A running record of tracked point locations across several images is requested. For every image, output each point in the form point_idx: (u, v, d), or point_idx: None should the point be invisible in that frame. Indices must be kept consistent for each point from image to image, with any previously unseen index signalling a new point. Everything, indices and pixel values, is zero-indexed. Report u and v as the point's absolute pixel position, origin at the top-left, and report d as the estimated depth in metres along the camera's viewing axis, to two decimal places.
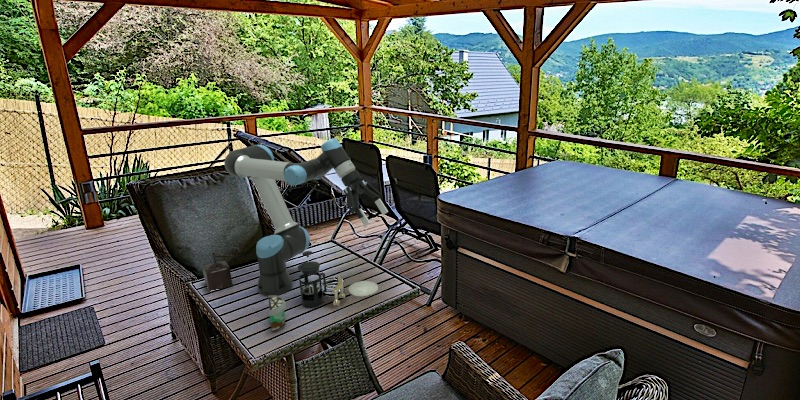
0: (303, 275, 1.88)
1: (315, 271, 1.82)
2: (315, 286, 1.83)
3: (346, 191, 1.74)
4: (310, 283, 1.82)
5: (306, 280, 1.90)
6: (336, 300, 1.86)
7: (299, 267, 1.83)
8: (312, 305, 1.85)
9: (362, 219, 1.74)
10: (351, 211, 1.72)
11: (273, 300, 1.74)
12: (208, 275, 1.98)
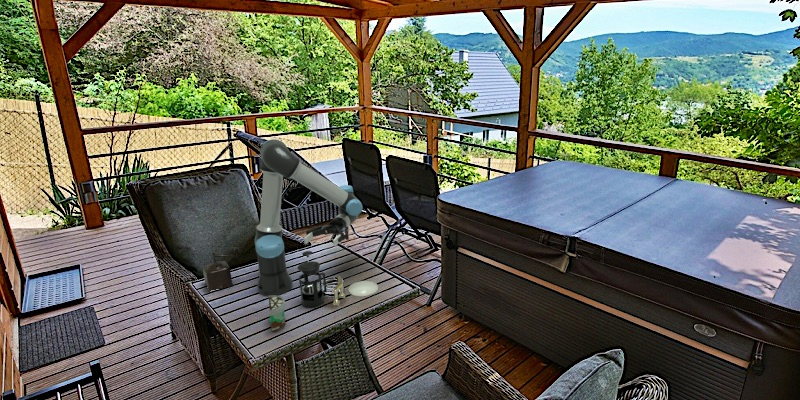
0: (303, 275, 1.88)
1: (315, 271, 1.82)
2: (315, 286, 1.83)
3: (348, 230, 2.03)
4: (310, 283, 1.82)
5: (306, 280, 1.90)
6: (336, 300, 1.86)
7: (299, 267, 1.83)
8: (312, 305, 1.85)
9: (337, 240, 1.91)
10: (347, 235, 1.95)
11: (273, 300, 1.74)
12: (208, 275, 1.98)
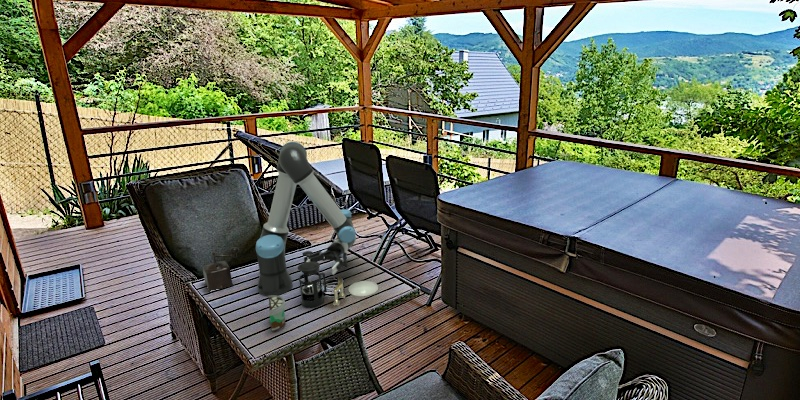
0: (303, 275, 1.88)
1: (315, 271, 1.82)
2: (315, 286, 1.83)
3: (346, 256, 2.01)
4: (310, 283, 1.82)
5: (306, 280, 1.90)
6: (336, 300, 1.86)
7: (299, 267, 1.83)
8: (312, 305, 1.85)
9: (335, 267, 1.89)
10: (345, 263, 1.93)
11: (273, 300, 1.74)
12: (208, 275, 1.98)
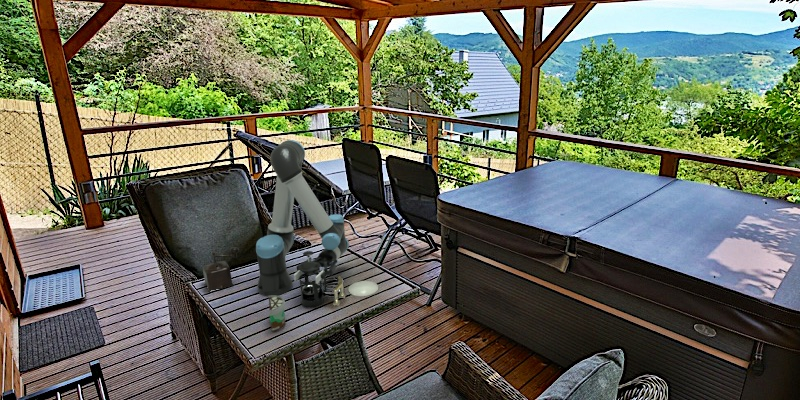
0: (303, 275, 1.88)
1: (316, 271, 1.82)
2: (315, 286, 1.83)
3: (336, 264, 1.94)
4: (310, 283, 1.81)
5: (306, 280, 1.90)
6: (336, 300, 1.86)
7: (300, 267, 1.83)
8: (312, 305, 1.85)
9: (319, 276, 1.82)
10: (330, 271, 1.86)
11: (273, 300, 1.74)
12: (208, 275, 1.98)
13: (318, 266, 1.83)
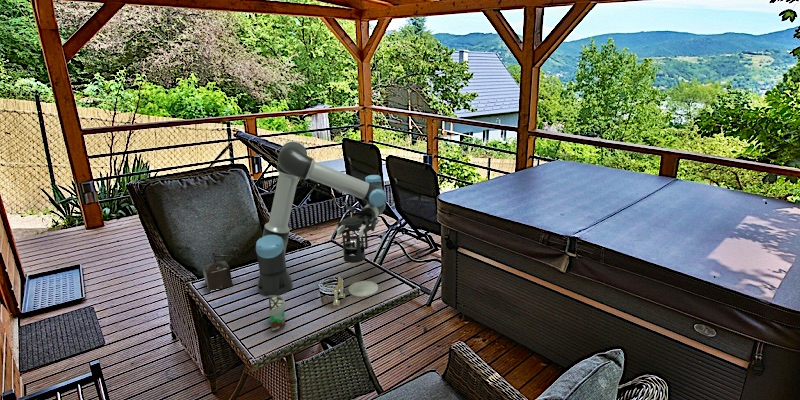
0: (345, 231, 1.90)
1: (358, 226, 1.84)
2: (358, 241, 1.85)
3: (376, 221, 1.96)
4: (353, 237, 1.84)
5: None
6: (336, 300, 1.86)
7: (342, 222, 1.85)
8: (355, 260, 1.87)
9: (362, 231, 1.84)
10: (372, 226, 1.88)
11: (273, 300, 1.74)
12: (208, 275, 1.98)
13: (360, 221, 1.86)
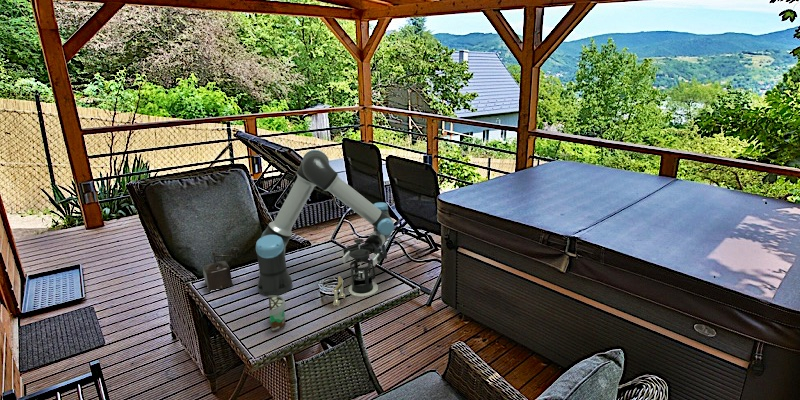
0: (353, 262, 1.97)
1: (366, 258, 1.91)
2: (366, 272, 1.92)
3: None
4: (362, 269, 1.90)
5: (356, 267, 1.99)
6: (336, 300, 1.86)
7: (351, 254, 1.92)
8: (363, 290, 1.93)
9: (376, 259, 1.91)
10: (385, 254, 1.95)
11: (273, 300, 1.74)
12: (208, 275, 1.98)
13: (368, 253, 1.92)
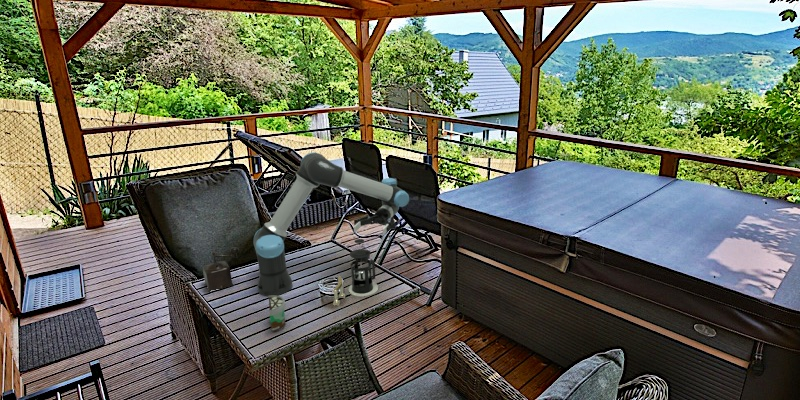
0: (353, 262, 1.97)
1: (367, 258, 1.91)
2: (366, 272, 1.92)
3: None
4: (362, 269, 1.90)
5: (356, 267, 1.99)
6: (336, 300, 1.86)
7: (351, 254, 1.92)
8: (363, 291, 1.93)
9: (385, 228, 2.00)
10: (394, 225, 2.04)
11: (273, 300, 1.74)
12: (208, 275, 1.98)
13: (368, 253, 1.92)
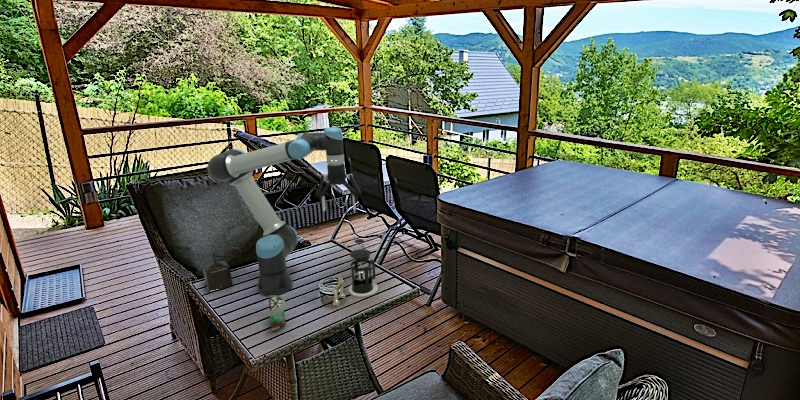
0: (353, 262, 1.97)
1: (367, 258, 1.91)
2: (366, 272, 1.92)
3: None
4: (362, 269, 1.90)
5: (356, 267, 1.99)
6: (336, 300, 1.86)
7: (351, 254, 1.92)
8: (363, 291, 1.93)
9: None
10: None
11: (273, 300, 1.74)
12: (208, 275, 1.98)
13: (368, 253, 1.92)
